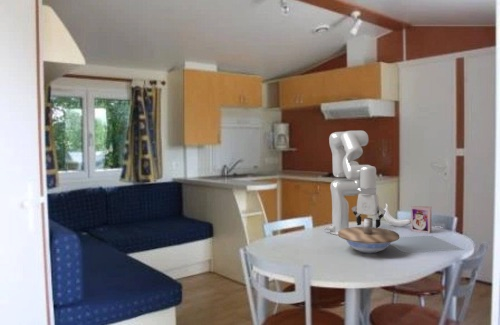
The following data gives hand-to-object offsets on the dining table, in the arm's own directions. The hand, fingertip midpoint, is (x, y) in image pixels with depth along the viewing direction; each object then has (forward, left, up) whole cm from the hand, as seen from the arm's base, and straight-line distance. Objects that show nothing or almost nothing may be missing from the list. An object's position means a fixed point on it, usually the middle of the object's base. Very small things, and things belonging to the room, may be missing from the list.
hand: (368, 226), depth 212 cm
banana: (+39, +55, -13) cm, 69 cm away
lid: (0, 0, -5) cm, 5 cm away
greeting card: (+47, +38, -13) cm, 62 cm away
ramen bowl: (0, 0, -13) cm, 13 cm away
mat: (+31, +10, -13) cm, 35 cm away
